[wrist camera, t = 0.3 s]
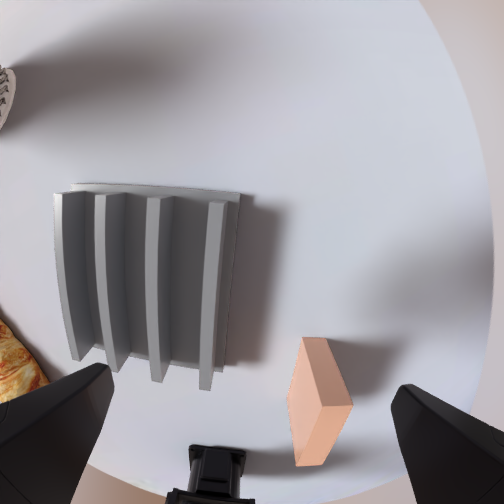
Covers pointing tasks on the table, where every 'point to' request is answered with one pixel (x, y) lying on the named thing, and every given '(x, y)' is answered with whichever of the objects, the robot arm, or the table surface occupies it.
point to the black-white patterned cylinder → (6, 93)
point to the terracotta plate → (316, 402)
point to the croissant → (17, 367)
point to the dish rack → (146, 274)
